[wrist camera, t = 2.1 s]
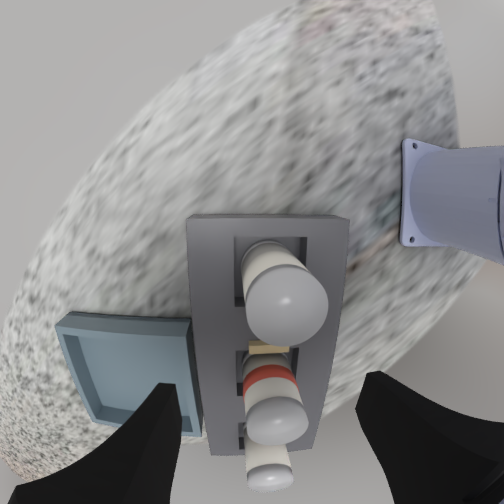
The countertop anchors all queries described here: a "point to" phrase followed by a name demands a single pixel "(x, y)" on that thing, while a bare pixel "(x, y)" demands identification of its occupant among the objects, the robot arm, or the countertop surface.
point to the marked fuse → (271, 399)
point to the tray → (130, 364)
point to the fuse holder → (235, 319)
